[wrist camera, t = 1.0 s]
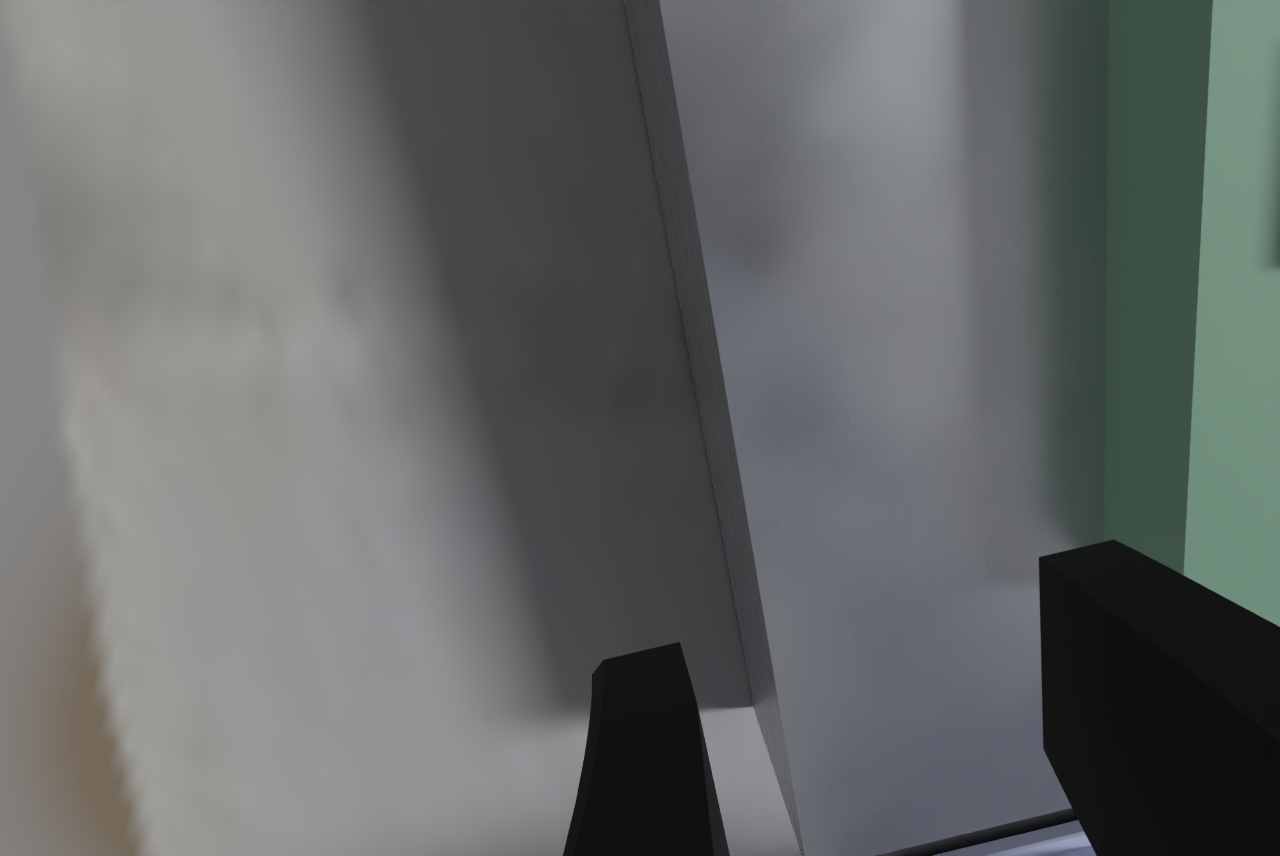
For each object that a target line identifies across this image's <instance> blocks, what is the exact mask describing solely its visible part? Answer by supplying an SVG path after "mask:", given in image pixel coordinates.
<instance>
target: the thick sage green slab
mask: <svg viewBox="0 0 1280 856" xmlns="http://www.w3.org/2000/svg"><path fill="white" fill-rule="evenodd" d="M1113 539H1114V540H1116V541H1118V542H1120V543H1122V544H1124V545H1126V546H1128V547H1130V548H1132V549H1134V550H1136V551H1138V552H1140V553H1142V554H1144V555H1146V556H1148V557H1150V558H1152V559H1154V560H1156V561H1158V562H1160V563H1161V564H1163V565H1165V566H1167V567H1169V568H1171V569H1173V570H1175V571H1177V572H1178V573H1180V574H1182V575H1184V576H1186V577H1188V578H1190V579H1191V580H1193V581H1195V582H1197V583H1199V584H1201V585H1203V586H1205V587H1206V588H1208V589H1210V590H1212V591H1214V592H1216V593H1218V594H1219V595H1221V596H1223V597H1225V598H1227V599H1229V600H1231V601H1232V602H1234V603H1236V604H1238V605H1240V606H1242V607H1244V608H1246V609H1247V610H1249V611H1251V612H1253V613H1255V614H1257V615H1259V616H1261V617H1262V618H1264V619H1266V620H1268V621H1270V622H1272V623H1274V624H1276V625H1277V626H1279V627H1280V0H1109V17H1108V124H1107V231H1106V338H1105V445H1104V542H1105V541H1109V540H1113Z"/></svg>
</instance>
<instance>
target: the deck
mask: <svg viewBox="0 0 1280 856" xmlns="http://www.w3.org/2000/svg"><path fill="white" fill-rule="evenodd" d="M623 1H624V6H625V12H626V17H627V23H628V28H629V33H630V39H631V44H632V50H633V55H634V61H635V66H636V71H637V77H638V82H639V88H640V93H641V99H642V104H643V109H644V115H645V120H646V126H647V131H648V137H649V142H650V147H651V153H652V158H653V164H654V169H655V175H656V180H657V185H658V191H659V196H660V202H661V207H662V213H663V218H664V223H665V229H666V234H667V240H668V245H669V251H670V256H671V261H672V267H673V272H674V278H675V283H676V289H677V294H678V299H679V305H680V310H681V316H682V321H683V327H684V332H685V337H686V343H687V348H688V354H689V359H690V365H691V370H692V375H693V381H694V386H695V392H696V397H697V402H698V408H699V413H700V419H701V424H702V430H703V435H704V440H705V446H706V451H707V457H708V462H709V468H710V473H711V478H712V484H713V489H714V495H715V500H716V506H717V511H718V516H719V522H720V527H721V533H722V538H723V544H724V549H725V554H726V560H727V565H728V571H729V576H730V582H731V587H732V592H733V598H734V603H735V609H736V614H737V620H738V625H739V630H740V636H741V641H742V647H743V652H744V658H745V663H746V668H747V674H748V679H749V685H750V690H751V696H752V701H753V706H754V710H755V713H756V716H757V720H758V723H759V726H760V729H761V732H762V735H763V738H764V741H765V744H766V747H767V750H768V753H769V756H770V759H771V762H772V765H773V768H774V771H775V775H776V778H777V781H778V784H779V787H780V790H781V793H782V796H783V799H784V802H785V805H786V808H787V811H788V814H789V817H790V820H791V823H792V826H793V829H794V833H795V836H796V839H797V842H798V845H799V848H800V851H801V854H802V856H876V855H880V854H885V853H889V852H893V851H897V850H901V849H905V848H909V847H913V846H917V845H922V844H926V843H930V842H934V841H938V840H942V839H946V838H950V837H954V836H959V835H963V834H967V833H971V832H975V831H979V830H983V829H987V828H991V827H996V826H1000V825H1004V824H1008V823H1012V822H1016V821H1020V820H1024V819H1028V818H1033V817H1037V816H1041V815H1045V814H1049V813H1053V812H1057V811H1061V810H1065V809H1070V808H1072V807H1071V805H1070V803H1069V801H1068V799H1067V797H1066V795H1065V793H1064V791H1063V789H1062V787H1061V784H1060V782H1059V780H1058V778H1057V776H1056V774H1055V772H1054V770H1053V768H1052V766H1051V764H1050V762H1049V760H1048V758H1047V756H1046V754H1045V752H1044V750H1043V718H1042V677H1041V635H1040V593H1039V557H1041V556H1046V555H1050V554H1054V553H1058V552H1062V551H1067V550H1071V549H1075V548H1079V547H1084V546H1088V545H1092V544H1096V543H1101V542H1104V445H1105V338H1106V231H1107V124H1108V17H1109V0H623Z"/></svg>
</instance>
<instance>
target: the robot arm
mask: <svg viewBox="0 0 1280 856" xmlns="http://www.w3.org/2000/svg"><path fill="white" fill-rule="evenodd" d="M1039 593H1040V635H1041V677H1042V718H1043V750H1044V752H1045V754H1046V756H1047V758H1048V760H1049V762H1050V764H1051V766H1052V768H1053V770H1054V772H1055V774H1056V776H1057V778H1058V780H1059V782H1060V784H1061V787H1062V789H1063V791H1064V793H1065V795H1066V797H1067V799H1068V801H1069V803H1070V805H1071V807H1072V809H1073V811H1074V813H1075V815H1076V817H1077V819H1078V820H1076V821H1072V822H1068V823H1064V824H1060V825H1056V826H1052V827H1048V828H1043V829H1039V830H1035V831H1031V832H1027V833H1023V834H1019V835H1015V836H1011V837H1006V838H1002V839H998V840H994V841H990V842H986V843H982V844H978V845H974V846H970V847H965V848H961V849H957V850H953V851H949V852H945V853H941V854H937V855H933V856H1280V627H1279V626H1277V625H1276V624H1274V623H1272V622H1270V621H1268V620H1266V619H1264V618H1262V617H1261V616H1259V615H1257V614H1255V613H1253V612H1251V611H1249V610H1247V609H1246V608H1244V607H1242V606H1240V605H1238V604H1236V603H1234V602H1232V601H1231V600H1229V599H1227V598H1225V597H1223V596H1221V595H1219V594H1218V593H1216V592H1214V591H1212V590H1210V589H1208V588H1206V587H1205V586H1203V585H1201V584H1199V583H1197V582H1195V581H1193V580H1191V579H1190V578H1188V577H1186V576H1184V575H1182V574H1180V573H1178V572H1177V571H1175V570H1173V569H1171V568H1169V567H1167V566H1165V565H1163V564H1161V563H1160V562H1158V561H1156V560H1154V559H1152V558H1150V557H1148V556H1146V555H1144V554H1142V553H1140V552H1138V551H1136V550H1134V549H1132V548H1130V547H1128V546H1126V545H1124V544H1122V543H1120V542H1118V541H1116V540H1114V539H1113V540H1109V541H1105V542H1101V543H1096V544H1092V545H1088V546H1084V547H1079V548H1075V549H1071V550H1067V551H1062V552H1058V553H1054V554H1050V555H1046V556H1041V557H1039ZM563 856H730V854H729V850H728V845H727V841H726V836H725V831H724V827H723V822H722V817H721V813H720V808H719V803H718V799H717V794H716V789H715V785H714V780H713V776H712V771H711V766H710V762H709V757H708V752H707V748H706V743H705V738H704V734H703V729H702V724H701V720H700V715H699V710H698V706H697V702H696V698H695V695H694V691H693V687H692V684H691V680H690V677H689V673H688V670H687V666H686V663H685V659H684V656H683V652H682V649H681V645H680V642H677V643H673V644H669V645H665V646H661V647H656V648H652V649H648V650H644V651H639V652H635V653H631V654H627V655H622V656H618V657H614V658H610V659H606V660H603V661H602V663H601V664H600V665H599V666H598V668H597V669H596V670H595V672H594V673H593V674H592V700H591V710H590V721H589V729H588V736H587V743H586V749H585V756H584V761H583V767H582V772H581V777H580V783H579V788H578V793H577V798H576V803H575V808H574V812H573V816H572V820H571V824H570V828H569V833H568V837H567V841H566V845H565V849H564V853H563Z"/></svg>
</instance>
